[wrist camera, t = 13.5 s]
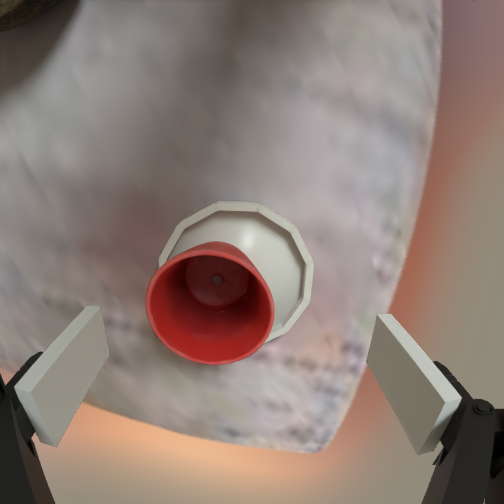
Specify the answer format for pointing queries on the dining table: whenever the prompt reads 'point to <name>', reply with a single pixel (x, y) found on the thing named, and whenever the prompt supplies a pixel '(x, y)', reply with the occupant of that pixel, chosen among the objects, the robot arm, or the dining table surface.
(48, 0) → the bowl
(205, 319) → the flower pot
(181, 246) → the saucer
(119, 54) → the dining table surface
